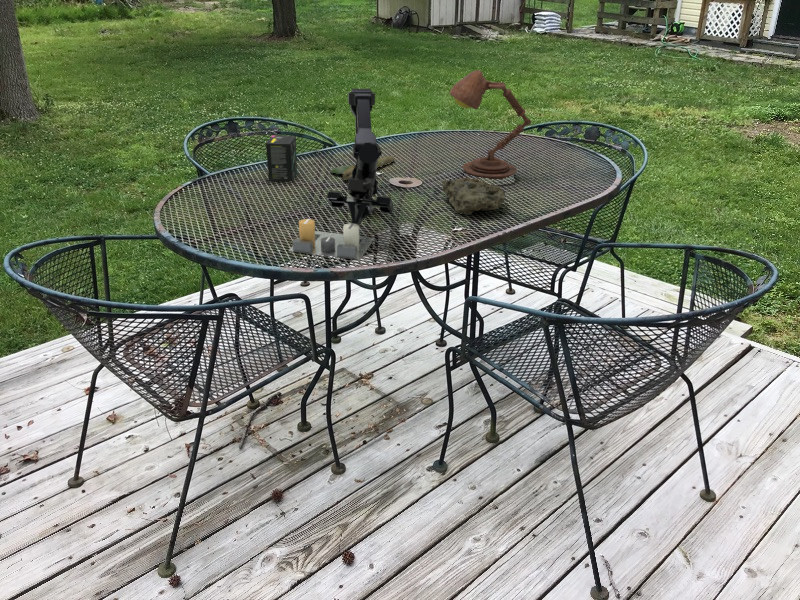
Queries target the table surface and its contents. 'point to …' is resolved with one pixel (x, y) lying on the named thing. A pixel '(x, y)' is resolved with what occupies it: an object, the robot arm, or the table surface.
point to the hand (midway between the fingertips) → (354, 228)
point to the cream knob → (351, 234)
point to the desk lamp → (471, 96)
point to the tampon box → (281, 158)
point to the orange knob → (307, 230)
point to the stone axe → (348, 169)
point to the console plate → (340, 248)
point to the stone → (472, 195)
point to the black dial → (327, 244)
